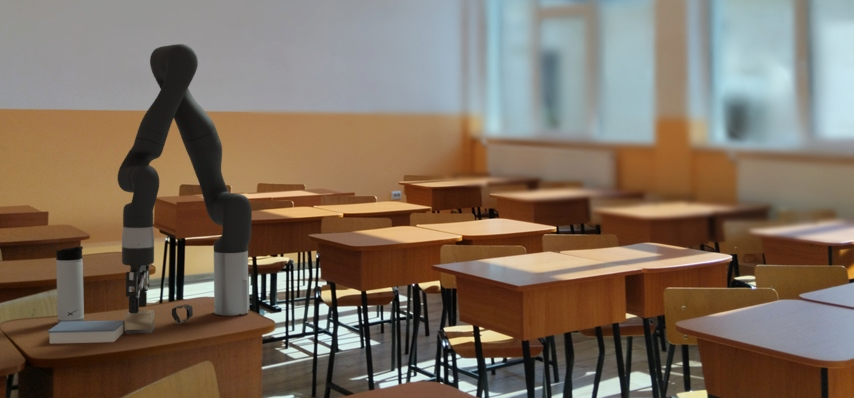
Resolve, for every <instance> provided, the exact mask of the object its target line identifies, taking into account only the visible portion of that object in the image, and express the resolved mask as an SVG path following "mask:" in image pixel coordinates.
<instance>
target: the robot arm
mask: <svg viewBox="0 0 854 398" xmlns="http://www.w3.org/2000/svg"><path fill="white" fill-rule="evenodd" d="M149 59H150V60H149V65H150V69H151V72H152V74H153V77H154V78H155V82H156V83H157V85H158V87H159V89H160V90H159V93H158V94H157V96H156V97H155V99H154V101H153V102H152V103H151V105H150V106H149V108H148V109H147V111H146V112H145V114H144V115H143V117H142V120H141V121H140V124H139V126H138V129H137V132H136V136H135V139H134V142H133V145H132V147H130V148H131V149H130V150H129V151H128V153H127V154H126V155H125V158H124V159H123V161H122V162H121V164H120V166H119V168H118V172H117V185H118V186H119V188H120V189H121V190H122V191H123V192H126V193H131V194H132V193H133V194H132V199H131V201H130V202H129V203H126V204H125V205H124V206H123V209H122V234H121V235H122V236H121V263H122V265H124V266H129V267H130V268H129V270H130V271H126V273H125V297H126V298H128V311H129V313H138V312H139V310H140V308H146V307H147V305H148V304H147V303H148V301H147V299H148V296H147V295H148V294H147V293H148V291H149V288H150V286H151V284H150V265H153V264H154V263H155V232H154V209H155V204H156V201H157V196H158V192H159V190H160V178H159V177H160V176H159V174H158V173H159V172H157V170H156V168H154V167H153V166H152V165H150V164H151V162H152V161H154V160H157V159H159V158H160V157H161V156H162V154H163V151H164V147H165V144H166V141H167V138H168V135H169V132H170V129H171V126H172V124H173V121H174V122H175V124H176V127H177V129H178V131H179V135H180V137H181V140H182V143H183V145H184V148H185V151H186V152H187V155H188V157H189V159H190V163H191V165H192V167H193V170H194V173H195V176H196V177H197V178H196V179H197V180H198V183H199V187H200V191H201V193H202V198H203V201H204V205H205V209H206V213H207V215H208V217H209V218H210V219H209V220H211V221H212V222H213V224H216V225H218V226H221V227H222V232H221V233H222V234H221V236H220V237H219V238H217V239H216V240H214V243H213V294H214V295H213V300H214V302H213V304H214V305H213V307H214V308H213V310H214V314H215V315H218V316H240V315H239V314H241V315H246V314H245V313H249V312H250V276H249V244H250V242H251V238H252V222H253V221H252V219H253V215H252V212H253V211H252V206H251V205H252V204H251V201H250V200H249V198H248V197H247V196H245V195H244V194H242V193H235V192H234V193H231V192H230V191H229V190H228V187H227V185H226V181H225V179H224V177H223V174H222V173H223V172H222V161H223V145H222V142H221V139H220V136H219V134H218V131H217V128H216V125H215V123H214V121H213V120H212V118H211V117H210V116H209V115H208V114H209V113H207V112H206V111H205V110H204V108H203V107H202V106H201V105H200V104H199V103H198V102H197V101H196V99H195V98H194V97H193V95H192V93H191V91H190V89H189V87H190V85H191V82H192V81H193V79H194V77H195V74H196V73H197V70H198V64H199V61H198V56H197V54H196V52H195V50H194V49H193V48H192V47H191V46H189V45H187V44H184V43H183V44H182V43H179V44H178V43H177V44H171V45H170V44H169V45H164V46H159V47H156V48H154V50H153V51H152V52H151V54H150V58H149ZM248 310H249V311H248Z"/></svg>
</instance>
